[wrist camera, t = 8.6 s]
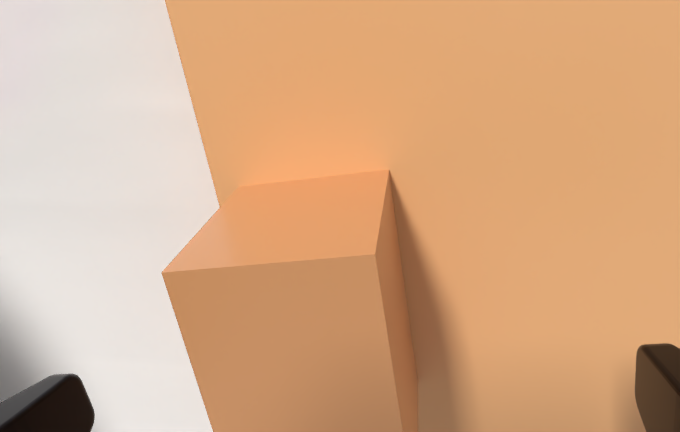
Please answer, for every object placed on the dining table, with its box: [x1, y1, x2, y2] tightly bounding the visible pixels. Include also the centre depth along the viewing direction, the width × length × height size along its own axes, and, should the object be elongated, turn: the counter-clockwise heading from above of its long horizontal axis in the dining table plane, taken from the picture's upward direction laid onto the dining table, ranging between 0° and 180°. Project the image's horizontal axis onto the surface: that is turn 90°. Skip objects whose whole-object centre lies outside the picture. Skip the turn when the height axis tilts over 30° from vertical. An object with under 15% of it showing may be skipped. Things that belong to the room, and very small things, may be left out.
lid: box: [162, 0, 680, 432], centre depth 10 cm, size 15×15×5 cm
